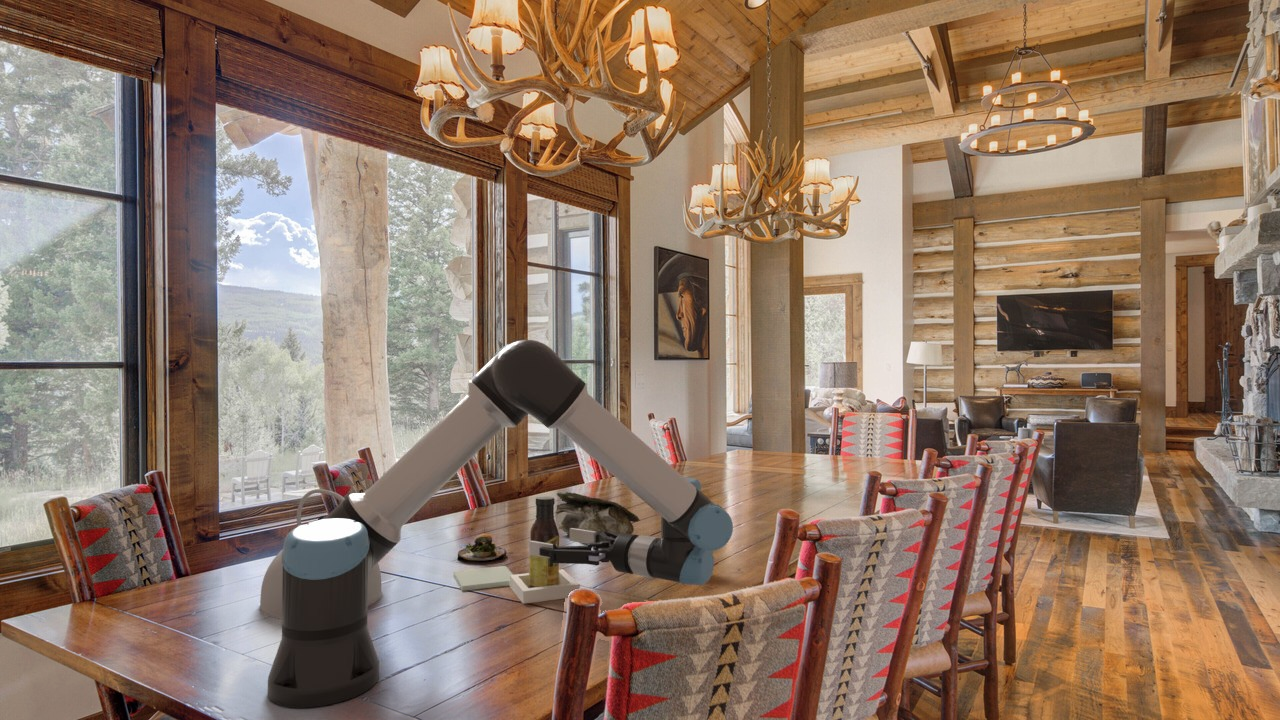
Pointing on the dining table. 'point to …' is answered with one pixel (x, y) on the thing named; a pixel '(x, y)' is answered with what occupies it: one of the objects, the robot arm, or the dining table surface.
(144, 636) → the dining table surface
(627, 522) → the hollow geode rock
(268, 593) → the kettle
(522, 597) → the pocket frame
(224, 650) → the dining table surface
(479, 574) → the plate
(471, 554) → the burger
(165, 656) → the dining table surface
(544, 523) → the sauce bottle
